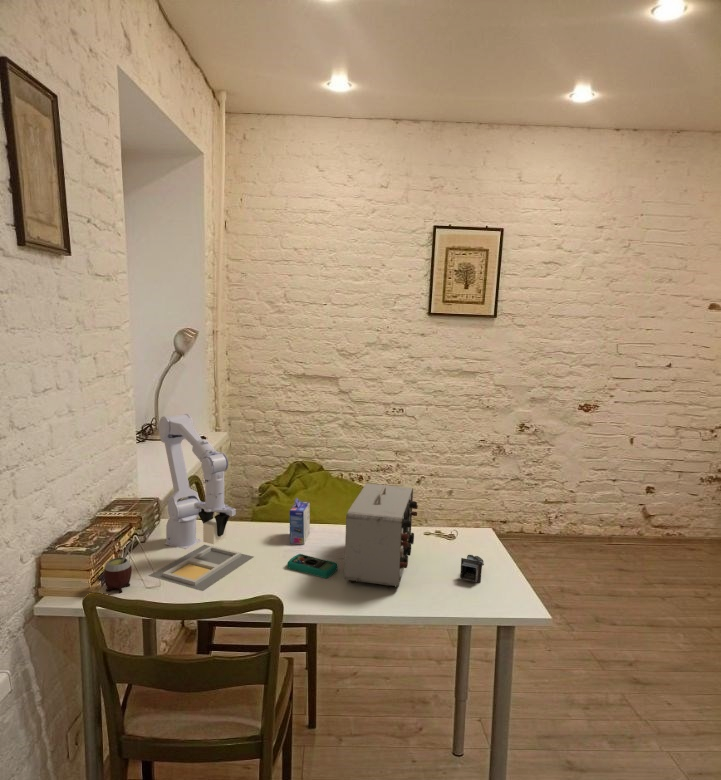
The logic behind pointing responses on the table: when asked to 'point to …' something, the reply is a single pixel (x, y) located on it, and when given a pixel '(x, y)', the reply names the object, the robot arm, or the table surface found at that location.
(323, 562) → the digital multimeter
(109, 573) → the mate gourd
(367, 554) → the vintage electronic device
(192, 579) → the grey flat tray
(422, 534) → the table surface
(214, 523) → the plug
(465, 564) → the ethernet keystone jack
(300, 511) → the ink cartridge box
